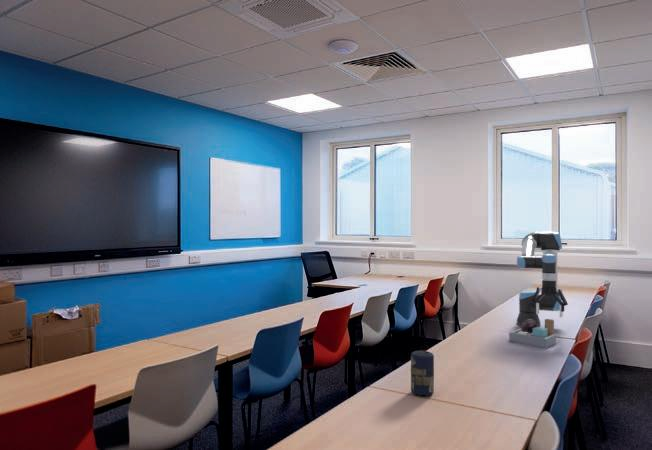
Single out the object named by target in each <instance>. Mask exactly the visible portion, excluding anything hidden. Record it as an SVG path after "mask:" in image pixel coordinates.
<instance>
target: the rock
mask: <svg viewBox="0 0 652 450" xmlns="http://www.w3.org/2000/svg"><path fill="white" fill-rule="evenodd" d="M536 327H537V323H536V321H535V320H533V319H528V320H526V321H524V322H523V323H522V325H520V329H522V332H528V334H531V333H533V328H536Z"/></svg>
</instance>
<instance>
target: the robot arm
mask: <svg viewBox="0 0 652 450" xmlns="http://www.w3.org/2000/svg"><path fill="white" fill-rule="evenodd" d="M562 244H563V243H562V238H561V233H560V232H558V231H557V232H556V231H534V232H531V233H528V234H526V235H525V236H524V237H523V239H522V241H521V247H522V248H521V249H522V250H521V255H519V256H517V257H516V266H517V267H518V268H521V269H541V270H542V271H541V277H542V278H541V279H542V281H541V287H540V286H538V287H536V289H535V290H523V291H521V292H519V295H518V296H519V297H518V300H519V302H518V304H519V305H518V306H519V307H518V308H519V309H518V310H519V312H518V316H517V318H516V324H517V326H521V325H522V323H523V322H524V321H526V320H528V319H533V320H535V321H536V323H537V327H541V325H542V324H541V319H540V316H539V315H540V311H546V312H559V318H563V316H564V315H563V314H564V312H565V307H566V306H568V301H567V299H566V297H565V296H564V293H563V289H562V288H558V254H559V253H560V252H561V251H560V250H562V249H563V246H562ZM535 249H540V252H541V253H542V256H535Z"/></svg>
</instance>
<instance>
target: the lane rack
mask: <svg viewBox="0 0 652 450" xmlns="http://www.w3.org/2000/svg"><path fill="white" fill-rule="evenodd" d="M519 331H521V332H522V329H521V328H518V329H517V328H516V329H515V330H512V331H509V332H508V338H509V339H508V341H509V342H514V343H519V344H524V345H530V346H535V347H539V348H546V349H547V348H549V347H551V346H553V345H555V344H557V334H555V333H554V334H553V335H550V336H548V337H546V338H542V337H536V336H533V333H531V334H528V335H525V334H519V333H518V332H519Z"/></svg>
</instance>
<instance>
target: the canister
mask: <svg viewBox="0 0 652 450" xmlns="http://www.w3.org/2000/svg"><path fill="white" fill-rule="evenodd" d="M434 359H435V355H434V354H433V352H431V351H429V350H428V351H427V350H415V351H413V352H411V354H410V390H411V392H412V394H414V393H415V394H414V395H416V394H418V395H417V396H420V395H429V396H431V395H433V394H434V393H435V392H434V391H435V387H434V386H435V384H434V383H435V382H434V381H435V367H434V366H435V360H434Z"/></svg>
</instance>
